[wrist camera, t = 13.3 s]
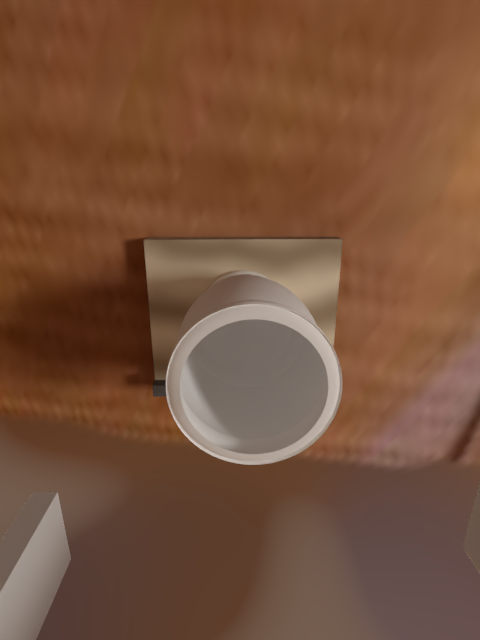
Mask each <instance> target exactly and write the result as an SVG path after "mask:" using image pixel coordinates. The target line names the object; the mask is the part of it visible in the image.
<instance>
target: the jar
mask: <svg viewBox="0 0 480 640" xmlns="http://www.w3.org/2000/svg"><path fill="white" fill-rule="evenodd" d="M341 394H342V372H341V367H340V363H339V360H338V357H337V355H336V352H335V350H334V348H333V347H332V345H331V343H330V341H329V340H328V338H327V337H326V335H325V334H324V333H323V331H322V330H321V329H320V328H319V327H318V326H317V324H316V322H315V320H314V318H313V316H312V315H311V313H310V312H309V310H308V309H307V307H306V306H305V305H304V304H303V302H302V301H301V300H300V299H299V298H298V297H297V296H296V295H295V294H294V293H292V292H291V291H290V290H288V289H287V288H286V287H284V286H282V285H281V284H279V283H277V282H275V281H272V280H270V279H269V278H268V277H266V276H264V275H262V274H259V273H256V272H252V271H235V272H231V273H228V274H226V275H224V276H222V277H220V278H219V279H217V280H216V281H215V282H214V283H213V284H212V285H211V286H210V287H209V288H208V289H207V290H206V291H204V292H203V293H202V294H201V295H200V296H199V297H198V298H197V299H196V300H195V302H194V303H193V304H192V306H191V307H190V308H189V310H188V312H187V314H186V315H185V317H184V320H183V322H182V324H181V327H180V330H179V334H178V339H177V343H176V345H175V347H174V349H173V351H172V354H171V357H170V360H169V364H168V368H167V374H166V396H167V401H168V405H169V408H170V411H171V414H172V416H173V418H174V420H175V422H176V424H177V425H178V427H179V428H180V430H181V431H182V432H183V433H184V435H185V436H186V437H187V438H188V439H189V440H190V441H191V442H192V443H194V444H195V445H196V446H197V447H199V448H200V449H202V450H203V451H205V452H207V453H209V454H210V455H212V456H215V457H217V458H220V459H222V460H225V461H229V462H233V463H238V464H247V465H248V464H249V465H259V464H268V463H273V462H277V461H281V460H284V459H287V458H290V457H292V456H294V455H296V454H298V453H300V452H302V451H303V450H305V449H306V448H308V447H309V446H311V445H312V444H313V443H314V442H315V441H316V440H318V439H319V438H320V437H321V435H322V434H323V433H324V432H325V431H326V429H327V428H328V427H329V425H330V424H331V422H332V420H333V419H334V417H335V414H336V412H337V410H338V407H339V404H340V400H341Z"/></svg>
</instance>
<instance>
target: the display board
mask: <svg viewBox="0 0 480 640" xmlns="http://www.w3.org/2000/svg"><path fill="white" fill-rule="evenodd" d="M342 242H343V239H341V238H338V237H148V238H146V239H144V251H145V264H146V276H147V289H148V301H149V313H150V326H151V338H152V351H153V363H154V375H155V381H154V383H153V396H166V374H167V368H168V364H169V360H170V357H171V354H172V351H173V349H174V347H175V345H176V343H177V339H178V334H179V330H180V327H181V324H182V322H183V320H184V317H185V315H186V314H187V312H188V310H189V308H190V307H191V306H192V304H193V303H194V302H195V300H196V299H197V298H198V297H199V296H200V295H201V294H202V293H203V292H204V291H206V290H207V289H208V288H209V287H210V286H211V285H212V284H213V283H214V282H215V281H216V280H217V279H219V278H220V277H222V276H224V275H226V274H228V273H231V272H235V271H252V272H256V273H259V274H262V275H264V276H266V277H268V278H269V279H270V280H272V281H275V282H277V283H279V284H281V285H282V286H284V287H286V288H287V289H288V290H290V291H291V292H292V293H294V294H295V295H296V296H297V297H298V298H299V299H300V300H301V301H302V302H303V304H304V305H305V306H306V307H307V309H308V310H309V312H310V313H311V315H312V316H313V318H314V320H315V322H316V324H317V326H318V327H319V328H320V329H321V330H322V331H323V333H324V334H325V335H326V337H327V338H328V340H329V341H330V343H331V345H332V347H333V346H334V334H335V323H336V311H337V300H338V288H339V277H340V265H341V253H342Z"/></svg>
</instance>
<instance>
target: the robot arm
mask: <svg viewBox="0 0 480 640" xmlns="http://www.w3.org/2000/svg"><path fill="white" fill-rule="evenodd" d="M463 549H464V550H465V552H466V554H467V555H468V557H469V558H470V560H471V561H472V563H473V564H474V566H475V567H476V569H477V570H478V572H479V573H480V483H479V487H478V491H477V495H476V499H475V502H474V506H473V510H472V514H471V518H470V521H469V525H468V529H467V533H466V537H465V540H464V544H463ZM70 559H71V557H70V552H69V547H68V542H67V537H66V532H65V527H64V522H63V517H62V512H61V508H60V502H59V497H58V493H57V492H39V493H31V495H30V496H29V498H28V499H27V501H26V502H25V504H24V506H23V507H22V509H21V510H20V512H19V513H18V515H17V516H16V518H15V519H14V521H13V522H12V524H11V525H10V527H9V529H8V530H7V532H6V533H5V534H4V536H3V538H2V539H1V541H0V640H36V638H37V636H38V634H39V631H40V629H41V627H42V624H43V622H44V620H45V618H46V615H47V613H48V610H49V608H50V606H51V604H52V601H53V599H54V597H55V594H56V592H57V590H58V587H59V585H60V583H61V580H62V578H63V576H64V573H65V571H66V569H67V566H68V564H69V562H70Z"/></svg>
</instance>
